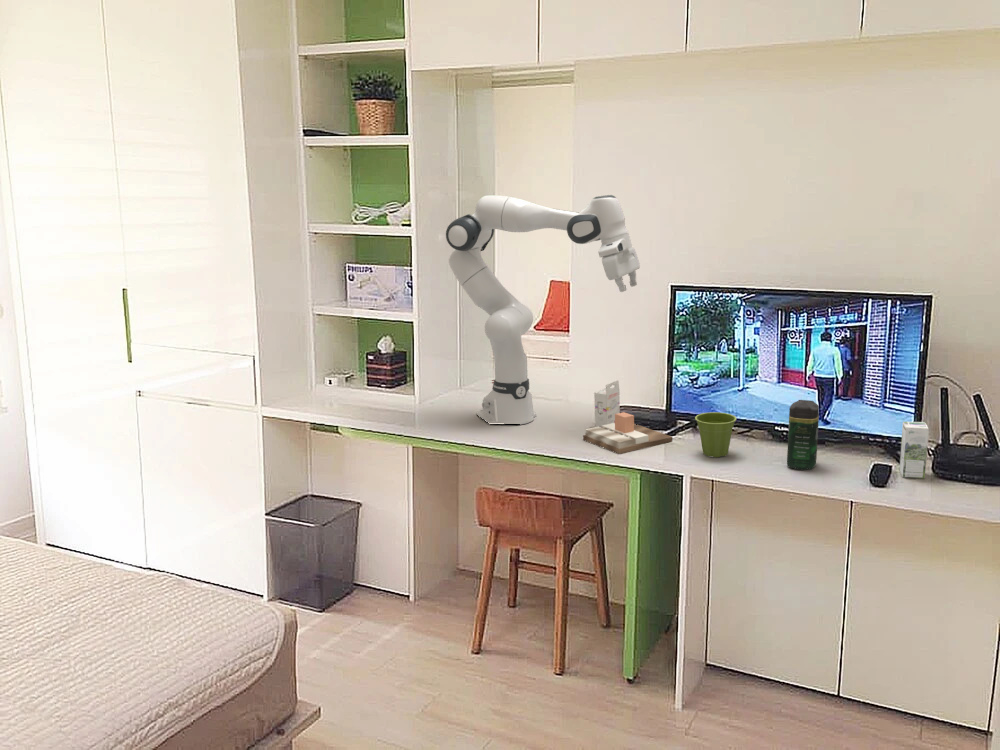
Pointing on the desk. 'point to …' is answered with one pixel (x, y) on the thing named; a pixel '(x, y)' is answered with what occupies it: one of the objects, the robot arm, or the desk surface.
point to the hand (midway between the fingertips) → (628, 288)
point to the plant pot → (715, 432)
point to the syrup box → (913, 449)
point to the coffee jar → (803, 434)
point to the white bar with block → (626, 427)
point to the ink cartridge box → (607, 404)
